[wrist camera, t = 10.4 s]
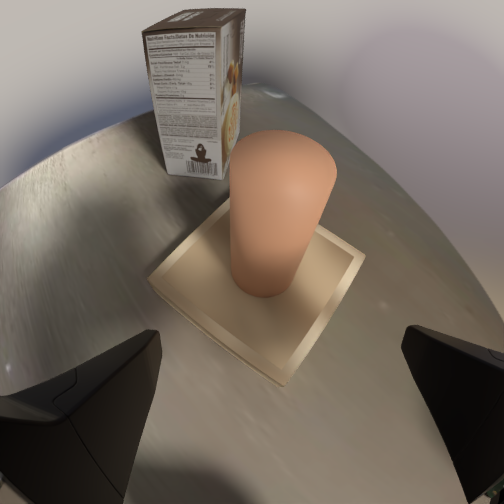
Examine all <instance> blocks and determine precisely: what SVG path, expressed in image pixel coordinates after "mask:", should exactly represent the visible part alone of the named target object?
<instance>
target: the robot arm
mask: <svg viewBox="0 0 504 504" xmlns="http://www.w3.org/2000/svg"><path fill="white" fill-rule="evenodd" d="M401 349H402V352H403V354H404V357H405V359H406V362H407V364H408V366H409V369H410V371H411V374H412V376H413V379H414V381H415V383H416V385H417V387H418V389H419V391H420V392H421V394H422V396H423V398H424V400H425V402H426V404H427V406H428V408H429V410H430V413H431V415H432V417H433V419H434V421H435V423H436V425H437V427H438V429H439V432H440V434H441V436H442V438H443V441H444V443H445V445H446V447H447V450H448V452H449V454H450V457H451V459H452V461H453V465H454V467H455V470H456V472H457V475H458V477H459V480H460V483H461V485H462V488H463V491H464V494H465V497H466V500H467V502H468V504H471V503H472V502H474V501H475V500H476V499H478V498H479V497H481V496H482V495H483V494H485V493H486V492H487V491H489V490H490V489H491V488H493V487H494V486H495V485H496V484H498V483H499V482H500V481H501V480H503V479H504V353H501V352H498V351H495V350H491V349H487V348H485V347H482V346H479V345H476V344H473V343H470V342H467V341H464V340H461V339H458V338H455V337H452V336H449V335H446V334H443V333H440V332H437V331H434V330H431V329H428V328H425V327H422V326H419V325H410V326H408V327H407V328H406V331H405V334H404V337H403V341H402V344H401ZM161 359H162V347H161V340H160V334H159V331H157V330H149V329H148V330H145V331H143V332H141V333H139V334H137V335H136V336H134V337H132V338H130V339H128V340H126V341H124V342H122V343H121V344H119V345H117V346H115V347H113V348H111V349H109V350H107V351H105V352H104V353H102V354H100V355H98V356H96V357H94V358H92V359H90V360H88V361H86V362H84V363H82V364H81V365H79V366H77V367H76V368H73V369H71V370H69V371H67V372H65V373H63V374H61V375H59V376H57V377H55V378H52V379H50V380H47V381H45V382H43V383H40V384H38V385H35V386H32V387H30V388H27V389H25V390H22V391H19V392H17V393H14V394H11V395H7V396H0V504H123V501H124V500H123V499H124V496H125V492H126V489H127V485H128V481H129V477H130V474H131V470H132V467H133V463H134V459H135V456H136V453H137V449H138V446H139V442H140V439H141V436H142V432H143V429H144V426H145V423H146V419H147V416H148V413H149V410H150V407H151V404H152V401H153V398H154V394H155V390H156V385H157V380H158V374H159V369H160V364H161ZM490 504H504V488H503V489H502V490H500V491H499V492H498V493H497V494H496V495H495V496H494V497H492V498H491V501H490Z"/></svg>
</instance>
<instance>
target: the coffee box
mask: <svg viewBox="0 0 504 504" xmlns="http://www.w3.org/2000/svg"><path fill="white" fill-rule="evenodd" d="M245 13H246V9H234V8H233V9H232V8H231V9H230V8H229V9H228V8H225V9H224V8H210V9H209V8H208V9H189V10H183V11H181V12H178V13H176V14H174V15H172V16H170V17H168V18H166V19H164V20H162V21H160V22H158V23H156V24H154V25H152V26H150V27H149V28H147V29H145V30H143V31H142V37H143V45H144V53H145V59H146V66H147V73H148V79H149V85H150V90H151V96H152V102H153V107H154V113H155V118H156V123H157V128H158V133H159V137H160V142H161V146H162V152H163V156H164V160H165V165H166V169H167V173H168V174H170V175H180V176H190V177H200V178H210V179H218V180H223V179H224V176H225V173H226V171H227V167H228V164H229V161H230V154H231V151H232V149H233V147H234V146H235V144H236V141H237V138H238V135H239V132H240V109H241V85H242V84H241V83H242V64H243V46H244V27H245Z"/></svg>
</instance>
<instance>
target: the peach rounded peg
mask: <svg viewBox="0 0 504 504" xmlns="http://www.w3.org/2000/svg"><path fill="white" fill-rule="evenodd" d="M336 176H337V169H336V165H335V162H334V160H333V158H332V157H331V155H330V154H329V153H328V151H327V150H326V149H325V148H323V147H322V146H321V145H320V144H318V143H317V142H315V141H314V140H312V139H310V138H308V137H306V136H304V135H301V134H298V133H294V132H290V131H283V130H266V131H260V132H256V133H253V134H250V135H248V136H246V137H244V138H243V139H241V140H240V141H239V142H238V143H237V144H236V145H235V146H234V147H233V149H232V151H231V154H230V249H231V273H232V277H233V279H234V281H235V283H236V284H237V285H238V287H239V288H240V289H242V290H243V291H244V292H246V293H247V294H250V295H252V296H255V297H261V298H268V297H273V296H276V295H279V294H281V293H282V292H284V291H285V290H286V289H287V288H288V287H289V286H290V284H291V283H292V281H293V278H294V276H295V274H296V272H297V270H298V267H299V265H300V263H301V261H302V259H303V256H304V254H305V252H306V250H307V247H308V245H309V243H310V240H311V238H312V236H313V233H314V231H315V229H316V226H317V224H318V222H319V219H320V217H321V215H322V212H323V210H324V208H325V205H326V203H327V200H328V198H329V195H330V193H331V190H332V188H333V186H334V183H335V180H336Z"/></svg>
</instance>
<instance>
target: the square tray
mask: <svg viewBox="0 0 504 504" xmlns="http://www.w3.org/2000/svg"><path fill="white" fill-rule="evenodd" d="M365 257H366V255H364V254H363V253H361V252H360V251H358V250H357V249H355V248H354V247H352V246H351V245H349V244H348V243H346V242H345V241H343V240H342V239H340V238H339V237H337V236H336V235H334V234H333V233H331V232H330V231H328V230H326V229H325V228H323V227H322V226H320V225H319V224H317V226H316V229H315V231H314V233H313V236H312V238H311V240H310V243H309V245H308V247H307V250H306V252H305V254H304V256H303V259H302V261H301V263H300V265H299V267H298V270H297V272H296V274H295V276H294V278H293V281H292V283H291V284H290V286H289V287H288V288H287V289H286V290H285V291H284V292H282V293H281V294H279V295H276V296H273V297H268V298H261V297H255V296H252V295H250V294H247V293H246V292H244V291H243V290H242V289H240V288H239V287H238V285H237V284H236V283H235V281H234V279H233V277H232V273H231V249H230V198H228V199H227V200H226V201H225V202H224V203H223V204H222V205H221V206H220V207H219V208H218V209H217V210H216V211H214V212H213V213H212V214H211V215H210V216H209V217H208V218H207V219H206V220H205V221H204V222H203V223H202V224H201V225H200V226H199V227H198V228H197V229H196V230H195V231H194V232H192V233H191V234H190V235H189V236H188V237H187V238H186V239H185V240H184V241H183V242H182V243H181V244H180V245H179V246H178V247H177V248H176V249H175V250H174V251H173V252H172V253H171V254H170V255H169V256H168V257H167V258H166V259H165V260H164V261H163V262H162V263H161V264H160V265H159V266H158V267H157V268H156V269H155V270H154V272H153V273H152V274H151V275H150V276H149V277H148V278H147V280H148V282H149V283H150V285H151V286H152V288H153V289H154V291H155V292H156V293H157V294H158V295H159V296H160V297H162V298H163V299H164V300H165V301H166V302H167V303H168V304H170V305H171V306H172V307H173V308H174V309H175V310H177V311H178V312H179V313H180V314H181V315H182V316H184V317H185V318H186V319H187V320H188V321H190V322H191V323H192V324H193V325H195V326H196V327H197V328H198V329H199V330H201V331H202V332H203V333H204V334H206V335H207V336H208V337H209V338H211V339H212V340H213V341H215V342H216V343H217V344H218V345H220V346H221V347H222V348H224V349H225V350H226V351H228V352H229V353H230V354H232V355H233V356H234V357H236V358H237V359H238V360H240V361H241V362H242V363H244V364H245V365H246V366H248V367H249V368H251V369H252V370H253V371H255V372H256V373H258V374H259V375H261V376H262V377H263V378H265V379H266V380H268V381H269V382H271V383H272V384H274V385H275V386H277V387H278V388H279V387H284V386H285V385H286V384H287V382H288V381H289V379H290V378H291V377H292V375H293V374H294V372H295V371H296V370H297V368H298V367H299V365H300V364H301V362H302V361H303V359H304V358H305V357H306V355H307V354H308V352H309V351H310V349H311V348H312V346H313V345H314V343H315V342H316V340H317V339H318V337H319V335H320V334H321V332H322V331H323V329H324V328H325V326H326V324H327V323H328V321H329V320H330V318H331V316H332V315H333V313H334V311H335V310H336V308H337V306H338V305H339V303H340V301H341V300H342V298H343V296H344V295H345V293H346V291H347V289H348V288H349V286H350V284H351V282H352V281H353V279H354V277H355V275H356V273H357V272H358V270H359V268H360V266H361V264H362V262H363V261H364V259H365Z"/></svg>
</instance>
